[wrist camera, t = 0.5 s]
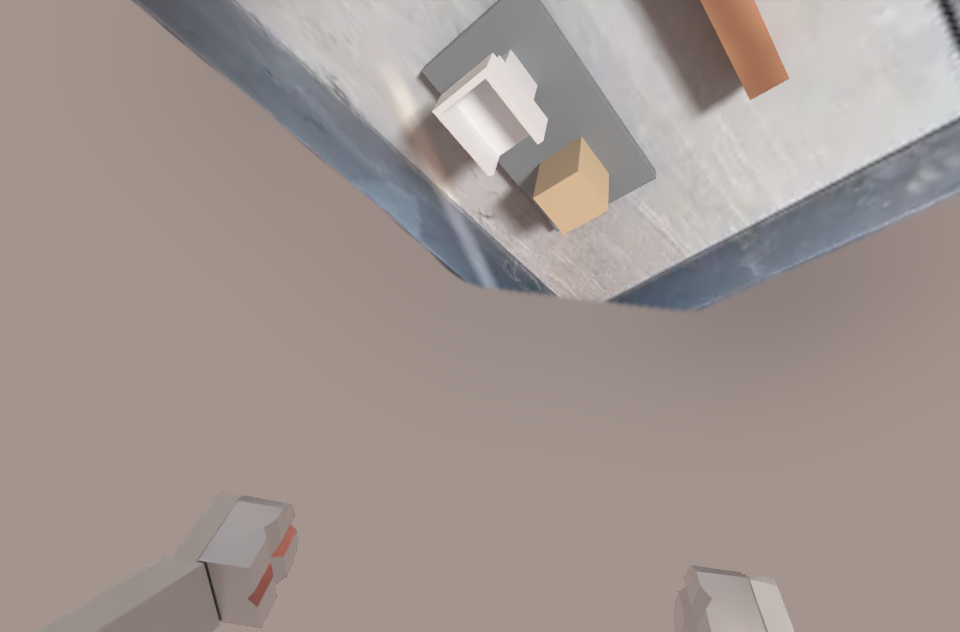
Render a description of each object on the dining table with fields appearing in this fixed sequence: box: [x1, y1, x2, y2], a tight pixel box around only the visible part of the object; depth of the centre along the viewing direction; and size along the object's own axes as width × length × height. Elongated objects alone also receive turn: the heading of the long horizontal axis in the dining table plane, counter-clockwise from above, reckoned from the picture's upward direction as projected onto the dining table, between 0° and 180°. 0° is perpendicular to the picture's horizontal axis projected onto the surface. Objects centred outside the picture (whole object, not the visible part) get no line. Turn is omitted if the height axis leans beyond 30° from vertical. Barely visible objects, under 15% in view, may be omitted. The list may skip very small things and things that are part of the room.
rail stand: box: [422, 0, 656, 235], centre depth 51 cm, size 12×22×11 cm, turn 41°
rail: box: [700, 0, 789, 100], centre depth 43 cm, size 3×14×5 cm, turn 40°
